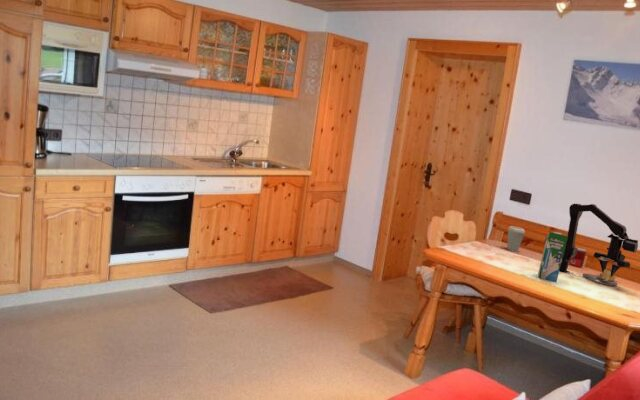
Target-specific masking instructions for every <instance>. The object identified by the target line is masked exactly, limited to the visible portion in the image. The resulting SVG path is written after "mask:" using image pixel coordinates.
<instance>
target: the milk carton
mask: <svg viewBox="0 0 640 400" xmlns="http://www.w3.org/2000/svg"><path fill="white" fill-rule="evenodd" d="M567 239H568V236H567V235H565V234H562V233H561V232H557V231H554V232H552V231H551V232H550V231H549V232H548V233H547V236H546V239H545V243H544V248H543V252H542V256H541V260H540V263H539V268H538V271H537V276H538V278H539V279H543V280H547V281H551V282H554V283H557V281H558V278H559V274H560V271H559V270H560V266H561V262H562V258H563V254H564V251H565V247H566V243H567Z"/></svg>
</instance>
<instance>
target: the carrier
mask: <svg viewBox="0 0 640 400" xmlns="http://www.w3.org/2000/svg"><path fill="white" fill-rule="evenodd" d="M599 275H600V273H598V274H592V273H582V278H583V279H585V280H587V281H589V282H593V283H597V284H600V285H603V286H608V287H617V286H618V282H617V281H616V278H617V277H616V276H615V274H614V275H613V276H614V277H615V279H614V281H612V280H611V281H610V280H606V279H603V278H600V277H599Z"/></svg>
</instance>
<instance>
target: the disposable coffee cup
mask: <svg viewBox="0 0 640 400" xmlns="http://www.w3.org/2000/svg"><path fill="white" fill-rule="evenodd" d="M507 231H508V232H507V244H506V247H507V250H508V251H511V252H518V251H519V249H520V246H521V243H522V241H523V238H524V235H525V233H526V231H525V229H524V228H522V227H520V226H514V225H510V226H509V227H508V228H507Z"/></svg>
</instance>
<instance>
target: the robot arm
mask: <svg viewBox="0 0 640 400" xmlns="http://www.w3.org/2000/svg"><path fill="white" fill-rule="evenodd" d="M568 210H569V212H568V213H569V218H570V219H569V225H568V232H567V235H566V236H568V239H567V243H566V247H565V251H564V254H563V258H562V262H561V266H560V270H559V272H561V273H569V270H568V268H569V261H570V260H571V258H574V257H575V255H577V249H578V248H579V247H577V248H575V247H576V244H575V243H576V238H577V232H578V226H579V222H580V218H581V217H582V216H583V213H584V212H591V213H592V214H593V215H594V216H595V217H597V218H598V219H599V220H600V221H601V222H602V223H604V224H605V225H606V226H607V228H609V230H610V232H611V233H610V234H609V235H607V238H610V242H609V246H608V247H607V248H606V250H607V253H603V252H600V251H599V252H597V251H596V252H594V254H593V258H596V259H597V261H598V262H599V264H600V268H601V273H603V270H604V268H606V269H607V264H609V262H612V263H613V264H612V265H611V269H610V270H611V276H613V275H614V276H615V273H617V271H618V270H619V269H620V268H630V266H631V263H630V261H626V256H625V254H622V250H621V249H623V250H624V251H627V252H630V253H634V254H636V252H637V251H638V247H639V239H638V240H637V239H632V238H630V237H629V235H628V234H627V227H626V225H623V224H622V223H619V222H618V221H615V220H614V219H612V218H611V217H610V216H609V215H608V214H606V212H604V211H603V210H602V209H600V208H599V207H598V206H597V205H596V204H593V203H591V204H581V203H572V204H571V205H569V209H568Z"/></svg>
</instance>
